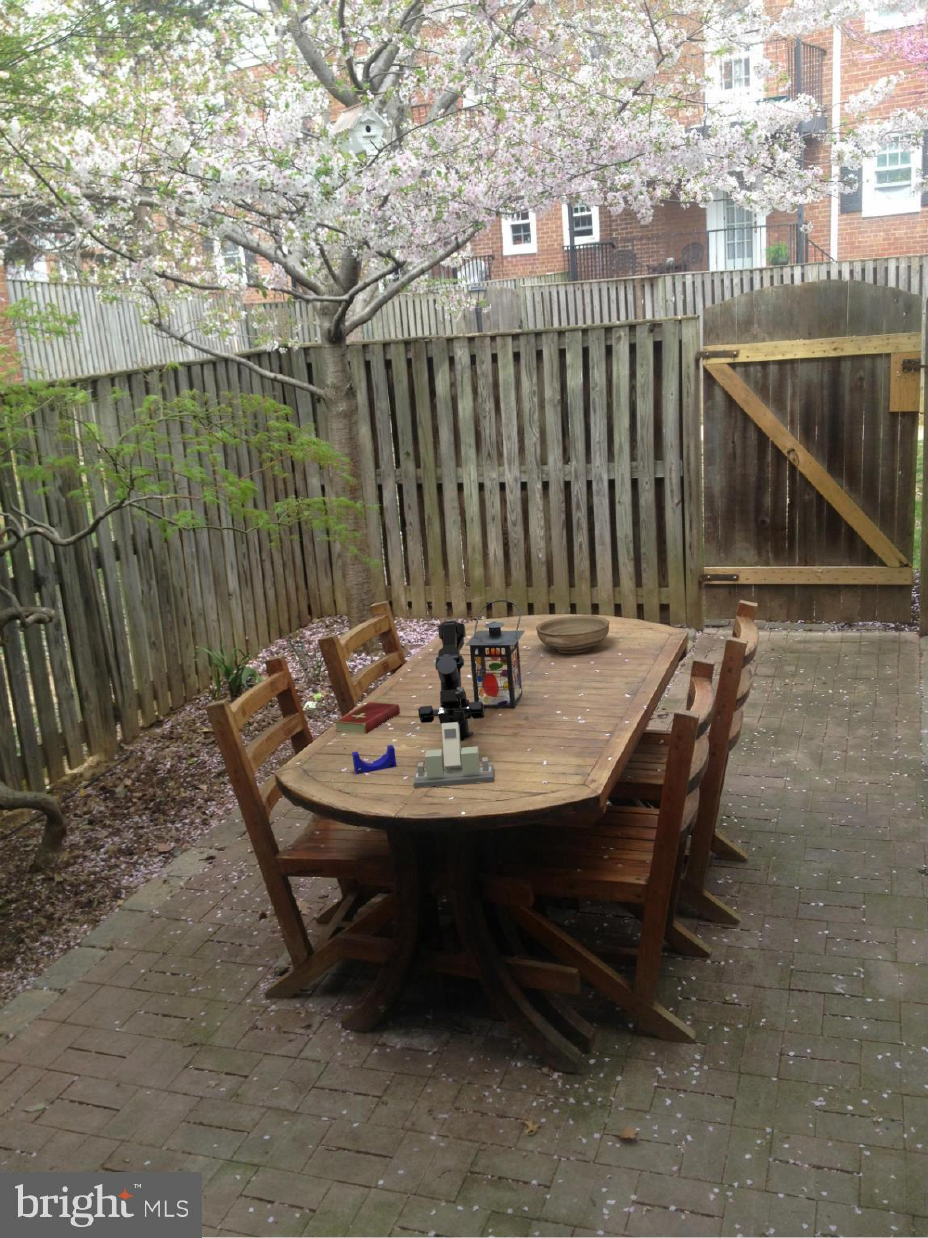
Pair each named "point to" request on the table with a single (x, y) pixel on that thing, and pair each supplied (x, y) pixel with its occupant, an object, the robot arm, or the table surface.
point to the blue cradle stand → (375, 762)
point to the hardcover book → (367, 717)
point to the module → (451, 745)
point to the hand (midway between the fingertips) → (452, 738)
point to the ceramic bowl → (573, 633)
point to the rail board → (453, 769)
